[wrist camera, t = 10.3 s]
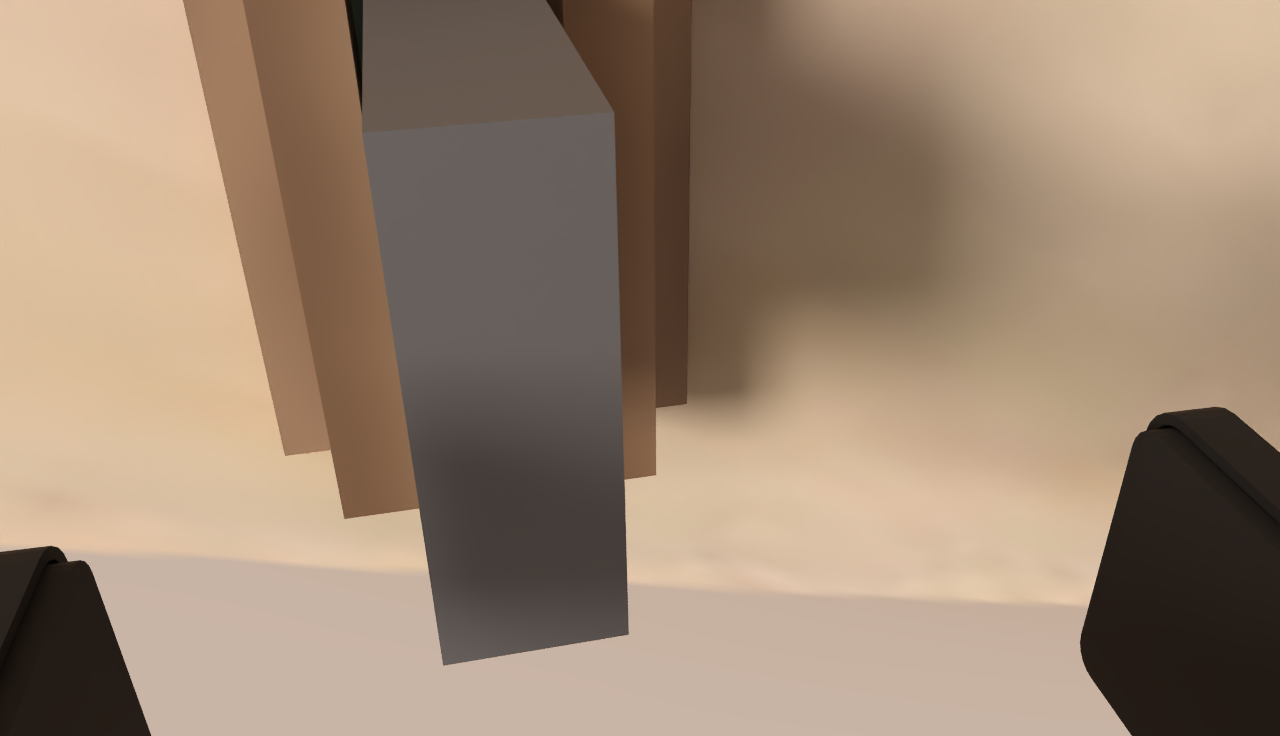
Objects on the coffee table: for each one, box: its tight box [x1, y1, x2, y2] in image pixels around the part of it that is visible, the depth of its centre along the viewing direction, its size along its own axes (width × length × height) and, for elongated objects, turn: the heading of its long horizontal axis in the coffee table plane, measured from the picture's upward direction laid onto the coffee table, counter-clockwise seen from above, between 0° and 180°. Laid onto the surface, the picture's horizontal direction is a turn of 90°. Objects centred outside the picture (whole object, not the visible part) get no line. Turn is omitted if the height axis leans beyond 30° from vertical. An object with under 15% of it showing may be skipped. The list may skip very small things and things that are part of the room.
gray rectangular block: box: [362, 0, 629, 665], centre depth 16 cm, size 3×7×10 cm, turn 1°
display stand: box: [183, 0, 692, 519], centre depth 20 cm, size 9×14×4 cm, turn 1°
